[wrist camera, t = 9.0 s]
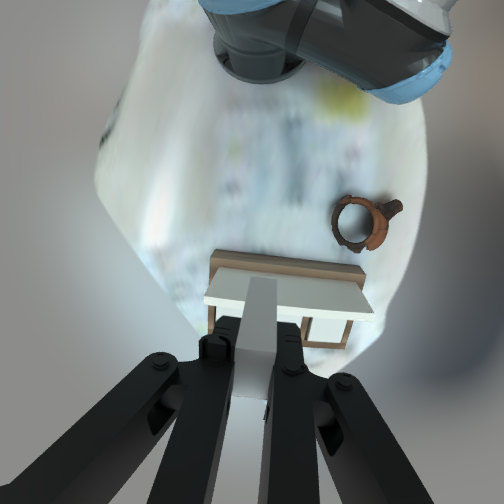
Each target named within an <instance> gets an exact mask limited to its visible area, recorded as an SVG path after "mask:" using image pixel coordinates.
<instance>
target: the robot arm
mask: <svg viewBox="0 0 504 504" xmlns="http://www.w3.org/2000/svg"><path fill="white" fill-rule="evenodd" d="M198 1H199V4H200V5H201V7H202V8H203V9H204V11H205V13H206V14H207V16H208V18H209V20H210V21H211V23H212V25H213V27H214V29H215V30H216V32H215V35H214V41H213V46H214V52H215V55H216V57H217V59H218V61H219V62H220V64H221V66H222V67H223V68H224V69H225V70H226V71H227V72H228V73H229V74H230V75H232V76H233V77H235V78H237V79H239V80H242V81H245V82H248V83H254V84H270V83H275V82H279V81H282V80H285V79H287V78H289V77H291V76H292V75H294V74H295V73H296V72H297V71H298V70H299V69H300V68H301V67H302V66H303V65H304V63H305V61H306V60H308V61H311V62H313V63H315V64H317V65H319V66H321V67H323V68H325V69H327V70H329V71H331V72H333V73H335V74H337V75H339V76H341V77H343V78H345V79H346V80H348V81H350V82H352V83H354V84H355V85H357V87H358V88H359V89H360V90H362V91H364V92H367V93H371V94H373V95H374V96H376V97H378V98H379V99H381V100H383V101H385V102H387V103H390V104H397V105H400V104H406V103H409V102H411V101H414V100H416V99H417V98H419V97H421V96H422V95H424V94H425V93H426V92H428V91H429V90H430V89H431V88H432V87H433V86H434V85H435V84H436V83H437V82H438V81H439V80H440V79H441V77H442V72H443V71H445V70H446V69H448V67H449V65H450V63H451V60H452V48H451V46H450V44H449V42H448V40H447V39H448V38H449V37H450V35H451V34H452V32H453V31H452V27H451V23H450V19H449V11H450V10H451V8H452V7H453V6H454V5H455V4H456V2H457V1H458V0H198ZM231 396H237V397H244V398H253V399H262V400H267V406H266V410H265V415H264V419H263V420H265V425H264V439H263V450H262V462H261V463H262V464H261V474H260V485H259V496H258V504H320V497H319V480H318V463H317V449H316V439H317V441H318V444H319V446H320V449H321V451H322V454H323V456H324V459H325V461H326V464H327V466H328V469H329V471H330V474H331V476H332V479H333V481H334V484H335V486H336V489H337V491H338V494H339V496H340V499H341V501H342V504H434V503H433V501H432V499H431V497H430V496H429V494H428V492H427V490H426V489H425V487H424V485H423V484H422V482H421V480H420V479H419V477H418V475H417V473H416V472H415V470H414V469H413V467H412V465H411V463H410V462H409V460H408V458H407V457H406V455H405V453H404V452H403V450H402V449H401V447H400V445H399V444H398V442H397V441H396V439H395V437H394V435H393V434H392V432H391V431H390V429H389V427H388V426H387V424H386V423H385V421H384V419H383V418H382V416H381V414H380V413H379V411H378V410H377V408H376V407H375V405H374V403H373V402H372V400H371V399H370V397H369V395H368V394H367V392H366V391H365V389H364V387H363V386H362V384H361V383H360V381H359V380H358V379H357V378H356V377H354V376H352V375H351V374H348V373H335V374H333V375H331V376H330V377H329V379H327V378H323V377H320V376H317V375H315V374H313V373H311V372H310V371H309V369H308V367H307V366H306V365H305V364H304V356H303V347H302V338H301V330H300V328H299V327H298V326H297V324H296V323H290V322H280V321H277V279H271V278H262V277H253V276H251V278H250V282H249V287H248V292H247V296H246V301H245V305H244V310H243V314H242V318H240V317H232V316H225V315H223V316H221V317H220V318H219V319H218V320H217V321H216V323H215V326H214V329H213V332H212V334H207V335H205V336H203V337H202V338H201V339H200V340H199V358H198V359H196V360H193V361H186V362H178V361H177V359H176V358H175V356H173V355H171V354H169V353H166V352H156V353H152V354H150V355H149V356H147V357H146V358H145V359H144V360H143V361H142V362H141V363H139V364H138V365H137V366H136V367H135V368H134V369H133V370H132V371H131V372H130V373H129V374H128V375H127V376H126V377H125V378H123V379H122V380H121V381H120V382H119V383H118V384H117V385H116V386H115V387H114V388H113V389H112V390H111V391H110V392H108V393H107V394H106V395H105V396H104V397H103V398H102V399H101V400H100V401H99V402H98V403H97V404H96V405H94V406H93V407H92V408H91V409H90V410H89V411H88V412H87V413H86V414H85V415H84V416H83V417H81V418H80V419H79V420H78V421H77V422H76V423H75V424H74V425H73V426H72V427H71V428H70V429H69V430H67V431H66V432H65V433H64V434H63V435H62V436H61V437H60V438H59V439H58V440H57V441H56V442H54V443H53V444H52V445H51V446H50V447H49V448H48V449H47V450H46V451H45V452H44V453H43V454H42V455H40V456H39V457H38V458H37V459H36V460H35V461H34V462H33V463H32V464H31V465H30V466H28V467H27V468H26V469H25V470H24V471H23V472H22V473H21V474H20V475H19V476H18V477H16V478H15V479H14V480H13V481H12V482H11V483H10V484H6V485H3V486H0V504H108V503H109V502H110V501H111V500H112V498H113V497H114V496H115V495H116V494H117V492H118V491H119V490H120V489H121V488H122V486H123V485H124V484H125V483H126V481H127V480H128V479H129V478H130V477H131V475H132V474H133V473H134V472H135V470H136V469H137V468H138V467H139V465H140V464H141V463H142V462H143V460H144V459H145V458H146V457H147V455H148V454H149V453H150V451H151V450H152V449H153V447H154V446H155V445H156V444H157V442H158V441H159V440H160V438H161V437H162V436H163V435H164V433H165V432H166V430H167V429H168V428H169V427H170V425H171V424H172V423H173V421H174V420H175V419H176V418H177V419H176V422H175V424H174V427H173V430H172V433H171V435H170V439H169V441H168V444H167V447H166V449H165V452H164V455H163V458H162V461H161V464H160V466H159V469H158V472H157V475H156V478H155V480H154V483H153V486H152V489H151V492H150V495H149V498H148V501H147V504H211V501H212V497H213V491H214V486H215V481H216V476H217V471H218V466H219V461H220V456H221V451H222V445H223V441H224V436H225V430H226V425H227V419H228V415H229V409H230V403H231V402H230V401H231ZM267 397H268V399H267Z"/></svg>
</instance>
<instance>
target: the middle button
mask: <svg viewBox="0 0 504 504" xmlns="http://www.w3.org/2000/svg"><path fill="white" fill-rule="evenodd" d="M302 318H303V316H294V315H284V314H277V321H280V322H290V323H296V324H297V326H298V327H299V328H300V327H301V322H302Z"/></svg>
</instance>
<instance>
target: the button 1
mask: <svg viewBox="0 0 504 504" xmlns="http://www.w3.org/2000/svg"><path fill="white" fill-rule="evenodd" d="M242 314H243V310H241V309H233V308H226V307H218V306H216V321H217V320H218V319H219V318H220V317H221V316H223V315H225V316H232V317H240V318H242Z"/></svg>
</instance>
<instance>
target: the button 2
mask: <svg viewBox="0 0 504 504" xmlns="http://www.w3.org/2000/svg"><path fill="white" fill-rule="evenodd" d="M346 323H347V320H341V319H328V318H315V317H310V318H309V323H308V327H307V331H306V333H307V340H308V341H317V342H333V343H340V342H341V339H342V336H343V333H344V329H345V326H346Z"/></svg>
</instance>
